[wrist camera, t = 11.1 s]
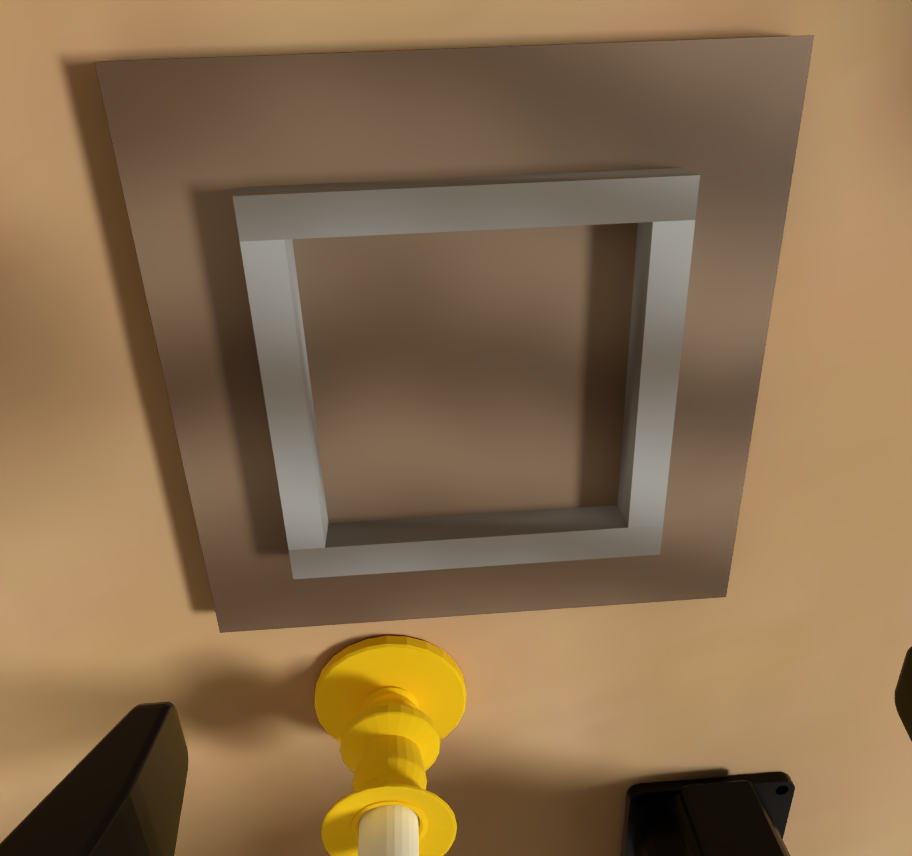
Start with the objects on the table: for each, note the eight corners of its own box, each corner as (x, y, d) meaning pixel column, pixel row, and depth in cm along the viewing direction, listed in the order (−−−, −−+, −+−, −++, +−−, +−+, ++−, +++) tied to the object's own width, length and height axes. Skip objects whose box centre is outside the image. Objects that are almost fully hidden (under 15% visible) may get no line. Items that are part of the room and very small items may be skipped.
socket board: (714, 577, 25) (740, 622, 23) (226, 611, 25) (211, 660, 23) (794, 36, 18) (841, 34, 16) (109, 61, 18) (73, 63, 16)
